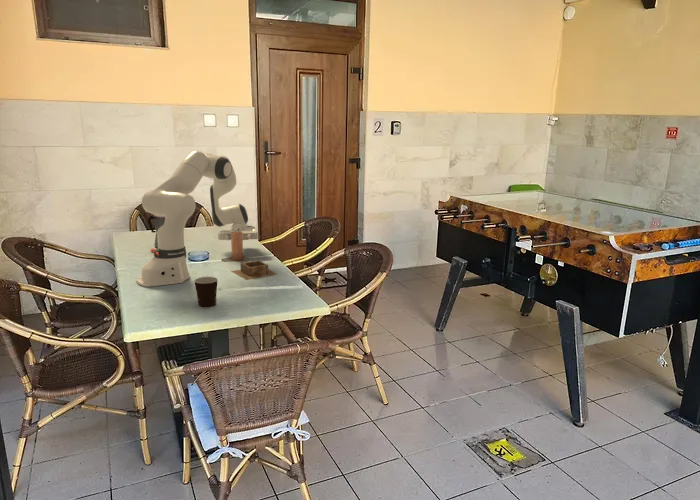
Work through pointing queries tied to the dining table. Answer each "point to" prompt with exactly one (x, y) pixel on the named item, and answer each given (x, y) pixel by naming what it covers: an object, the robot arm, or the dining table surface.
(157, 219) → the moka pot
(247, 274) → the jug stand
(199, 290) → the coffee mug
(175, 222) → the robot arm
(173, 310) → the dining table surface
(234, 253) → the brown tall block piece
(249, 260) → the mat
